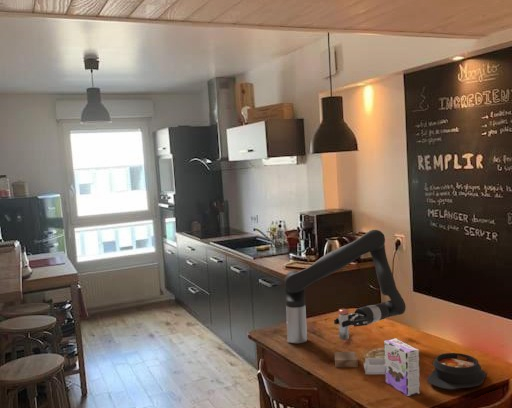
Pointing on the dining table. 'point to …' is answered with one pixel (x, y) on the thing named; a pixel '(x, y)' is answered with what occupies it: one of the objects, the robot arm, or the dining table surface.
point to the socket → (374, 365)
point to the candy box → (402, 366)
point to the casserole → (456, 371)
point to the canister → (342, 330)
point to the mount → (345, 359)
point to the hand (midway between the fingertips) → (338, 323)
